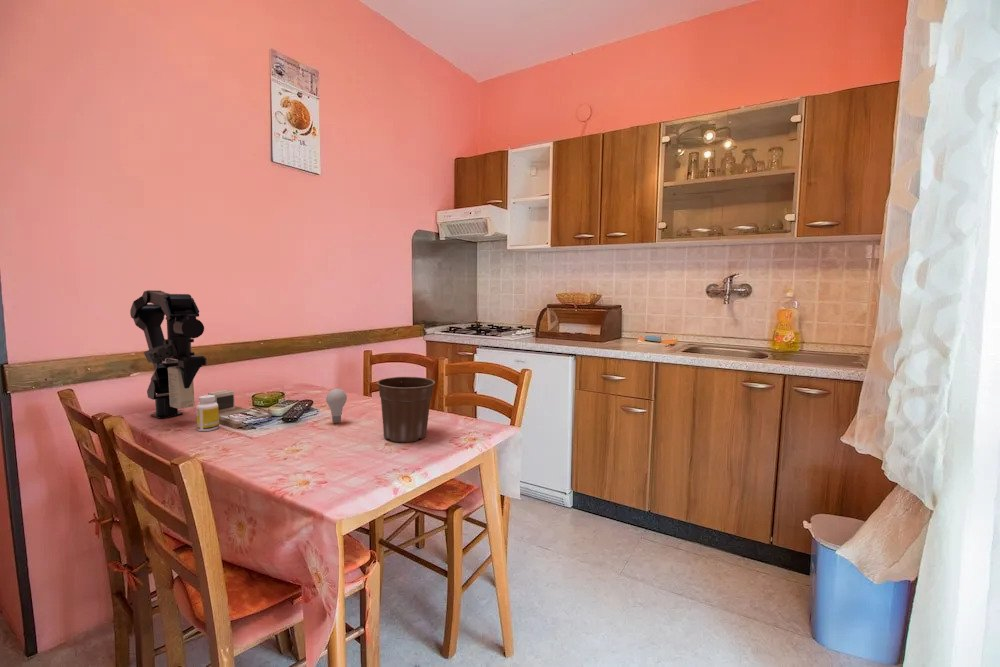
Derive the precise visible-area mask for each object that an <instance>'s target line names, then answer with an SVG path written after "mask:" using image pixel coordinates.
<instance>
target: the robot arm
mask: <svg viewBox="0 0 1000 667" xmlns="http://www.w3.org/2000/svg"><path fill="white" fill-rule="evenodd" d="M129 310H130V311H129V312H130V318H132V319H133V322H134V325H135V326H136V327H138V329H140V330H142V331H143V333H144V337H145V340H146V343H147V347H148V350H145V351H144V352H143V355H144V357H145V358H146V360H147V362H148V363H152V365H153V368H154V371H153V373H152V376H151V377H150V382H149V384H148V387H147V390H146V392H147V398H148V399H150V400H155V402H154V403H155V412H154V413H151V414H150V416H152V417H154V418H157V419H160V420H161V419H165V418H170V417H171V418H172V417H176V416H181V415H183V414H184V412H182V411H179V409H178V408H174V407H171V406H170V398H169V380H168V367H174V366H179V367H176V368H177V369H178V370H180V371H181V374H182V379H183V384H184V388H189V387H190V385H191V383H192V381H193V382H194V379H195V377H196V375H197V373H198V372H199V370H200V369H201V368H202V367H203V366H207V360H208V359H207V358H206V356H204V355H201V354H195V352H194V351H192V343H194V342H195V339H197V338H199V337H200V336H201V337H202V335H203V333H204V332H205V326H204V324H203V322H202V321H201V320H199V319H197V318H199V317H200V310H199V307H198V306H197V303H196V302H195V299H194V298H193V297H192V295H191V294H189V293H168V292H165V291H162V290H155V289H154V290H151V289H150V290H149V289H148V290H144V291H143V293H142V295H141V296H139V297H138V298H137V299H135V300H134V301H133V302H132V305H131V306H130V309H129ZM165 316H166V317H165ZM164 319H165V320H166V331H167V332H166V335H167V336H166V337H167V338H165V336H164V333H163V328H162V326H161V325H162V324H163V322H164Z"/></svg>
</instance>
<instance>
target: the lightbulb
mask: <svg viewBox="0 0 1000 667" xmlns="http://www.w3.org/2000/svg"><path fill="white" fill-rule="evenodd" d="M347 396H348V395H347V394H346V392H345V390H343V389H341V388H333V389H331V390H329V391H328V392H327V394H326V396H325V401H326V404H327V405H328V407H329V409H330V415H331V420H332V423H335V424H339V423H340V422H341V421H342V414H343V409H344V407H345V405H346V403H347V400H348V397H347Z"/></svg>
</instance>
